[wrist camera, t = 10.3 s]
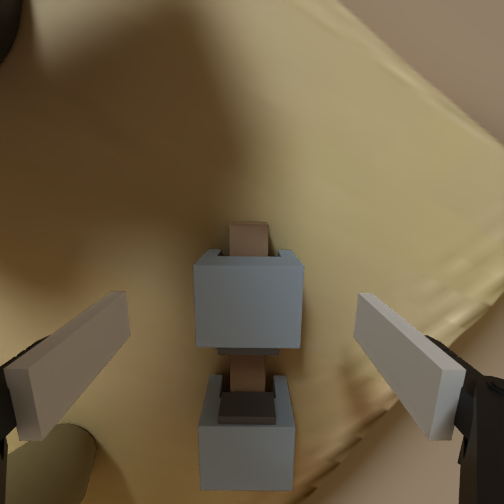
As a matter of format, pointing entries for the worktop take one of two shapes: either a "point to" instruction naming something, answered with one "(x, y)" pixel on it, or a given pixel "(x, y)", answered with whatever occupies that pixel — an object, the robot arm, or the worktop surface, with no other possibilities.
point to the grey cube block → (248, 302)
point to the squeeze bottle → (51, 468)
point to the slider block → (246, 438)
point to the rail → (256, 244)
